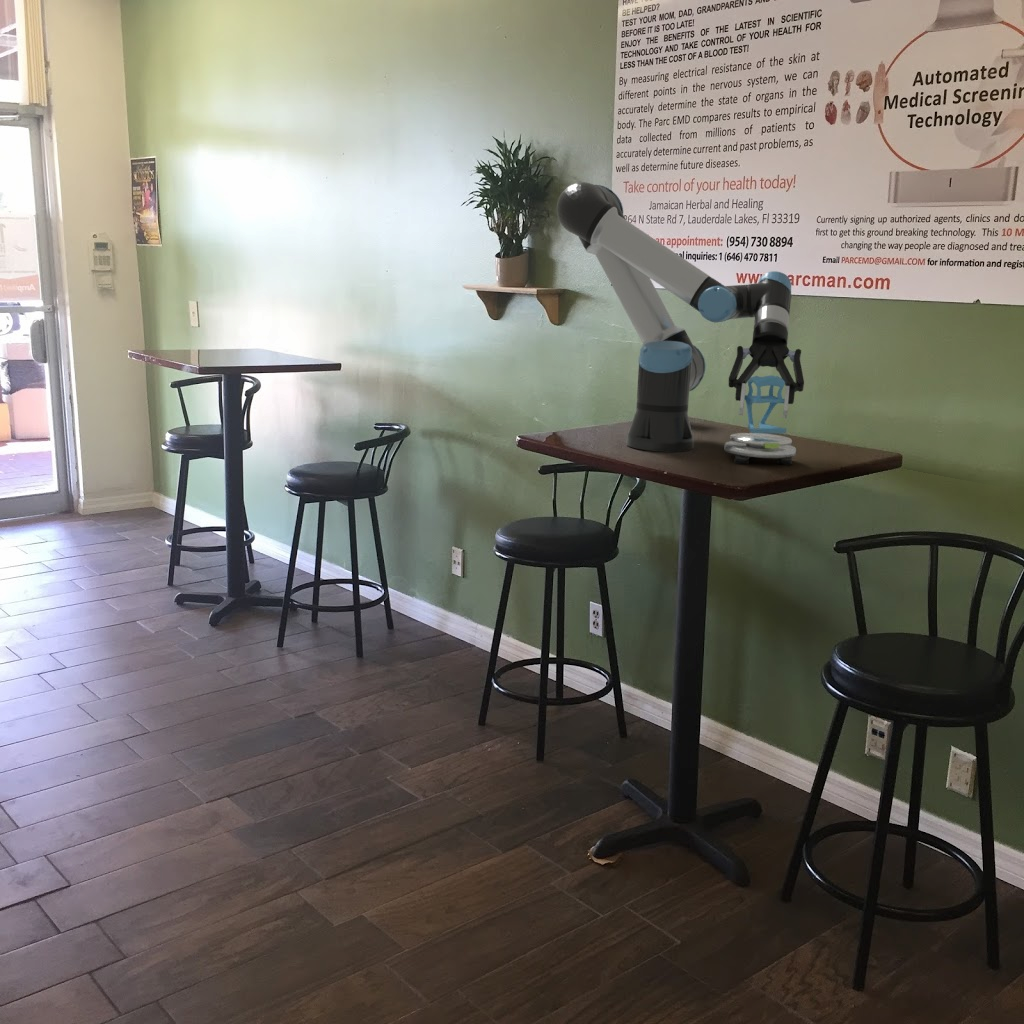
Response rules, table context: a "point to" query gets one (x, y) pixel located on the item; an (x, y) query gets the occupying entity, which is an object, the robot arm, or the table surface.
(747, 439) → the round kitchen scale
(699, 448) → the table surface
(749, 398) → the chair
